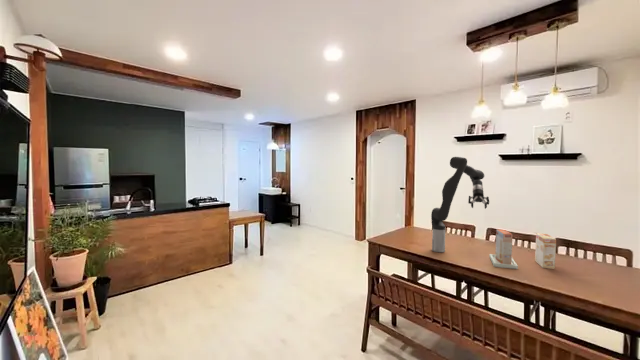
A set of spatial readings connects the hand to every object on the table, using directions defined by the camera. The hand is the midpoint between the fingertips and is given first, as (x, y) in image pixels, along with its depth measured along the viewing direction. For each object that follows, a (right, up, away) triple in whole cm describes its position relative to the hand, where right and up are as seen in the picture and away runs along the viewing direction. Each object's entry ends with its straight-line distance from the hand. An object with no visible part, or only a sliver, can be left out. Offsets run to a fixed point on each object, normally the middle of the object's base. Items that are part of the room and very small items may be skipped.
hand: (479, 207), depth 228 cm
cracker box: (+3, -35, -25) cm, 43 cm away
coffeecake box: (+28, -36, -29) cm, 54 cm away
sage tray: (+3, -35, -25) cm, 43 cm away
